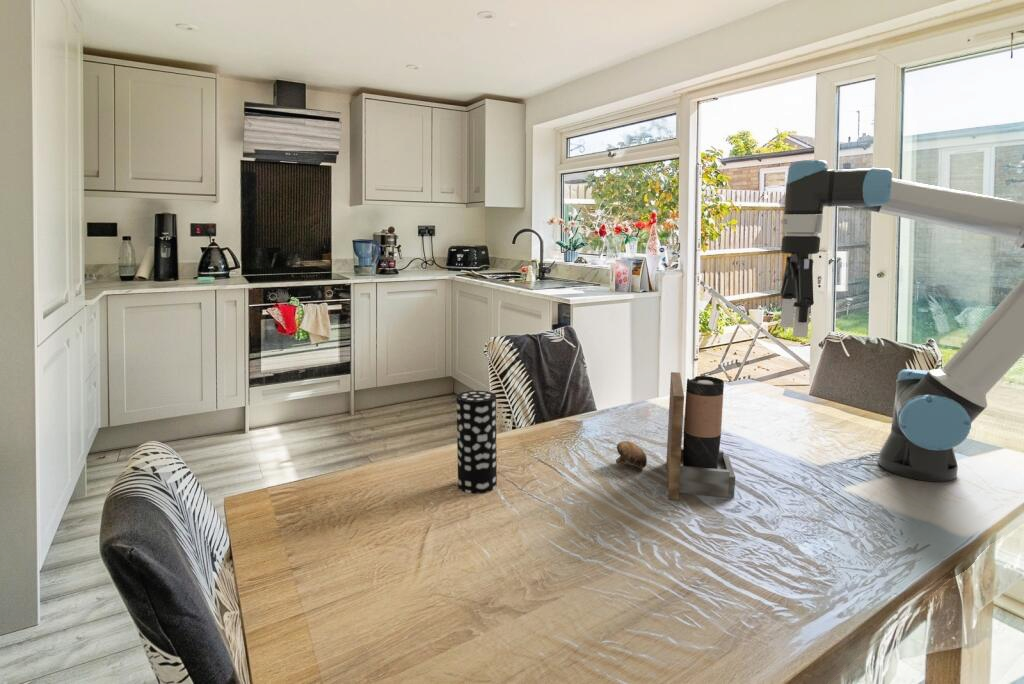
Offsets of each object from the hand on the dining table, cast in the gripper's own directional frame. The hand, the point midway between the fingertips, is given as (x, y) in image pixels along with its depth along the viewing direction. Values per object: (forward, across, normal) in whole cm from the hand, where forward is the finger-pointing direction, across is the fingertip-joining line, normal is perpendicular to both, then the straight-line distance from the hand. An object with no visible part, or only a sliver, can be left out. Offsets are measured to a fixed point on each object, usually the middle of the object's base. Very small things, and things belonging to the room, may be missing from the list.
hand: (792, 331), depth 137 cm
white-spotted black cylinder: (+32, +26, -66) cm, 78 cm away
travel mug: (+29, +14, -19) cm, 37 cm away
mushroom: (+32, +8, -34) cm, 47 cm away
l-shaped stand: (+32, +14, -19) cm, 40 cm away
